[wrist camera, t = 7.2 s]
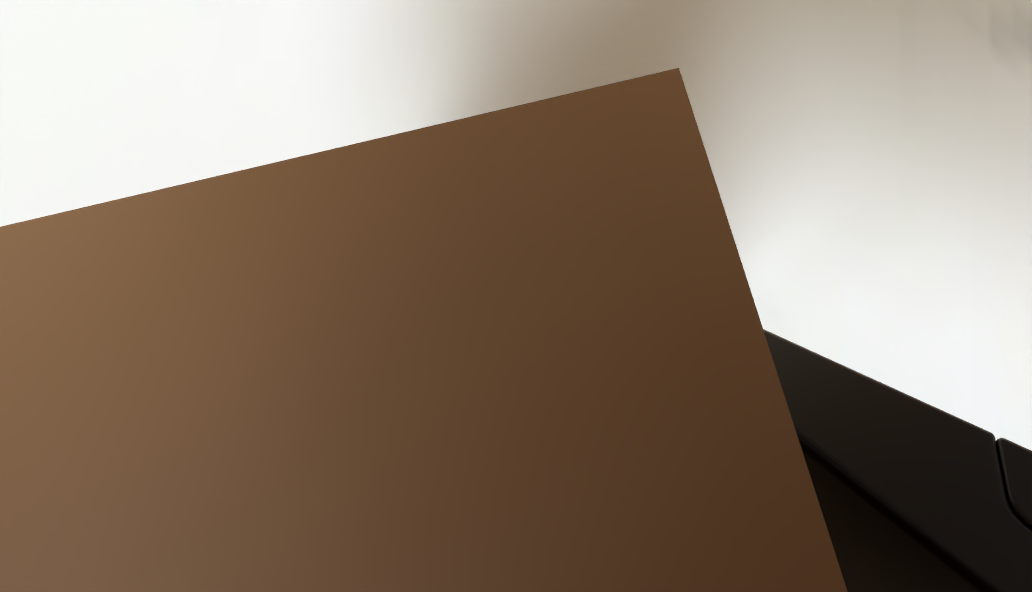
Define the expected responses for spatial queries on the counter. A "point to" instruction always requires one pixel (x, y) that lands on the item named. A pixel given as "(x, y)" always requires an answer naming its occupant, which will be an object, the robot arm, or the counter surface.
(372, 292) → the walnut stick
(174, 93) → the counter surface
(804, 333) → the counter surface
